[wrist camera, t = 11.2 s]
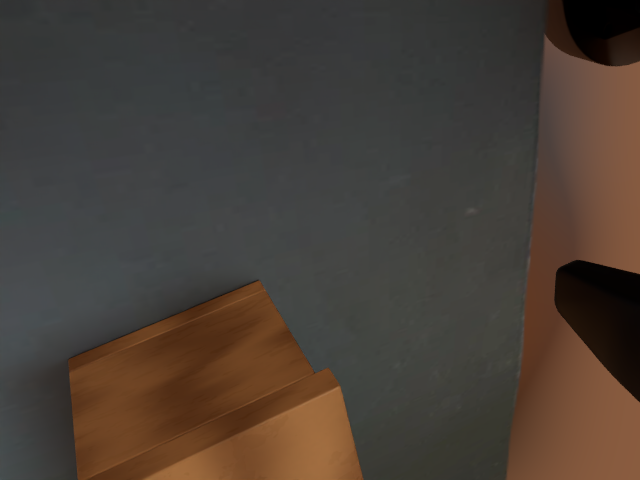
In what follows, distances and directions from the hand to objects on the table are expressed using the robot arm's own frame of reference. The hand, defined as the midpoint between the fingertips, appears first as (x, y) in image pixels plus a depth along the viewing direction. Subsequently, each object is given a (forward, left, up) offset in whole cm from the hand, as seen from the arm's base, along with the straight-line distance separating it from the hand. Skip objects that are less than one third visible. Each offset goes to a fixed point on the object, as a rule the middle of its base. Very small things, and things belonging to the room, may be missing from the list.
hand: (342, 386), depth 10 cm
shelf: (+3, +14, -13) cm, 19 cm away
